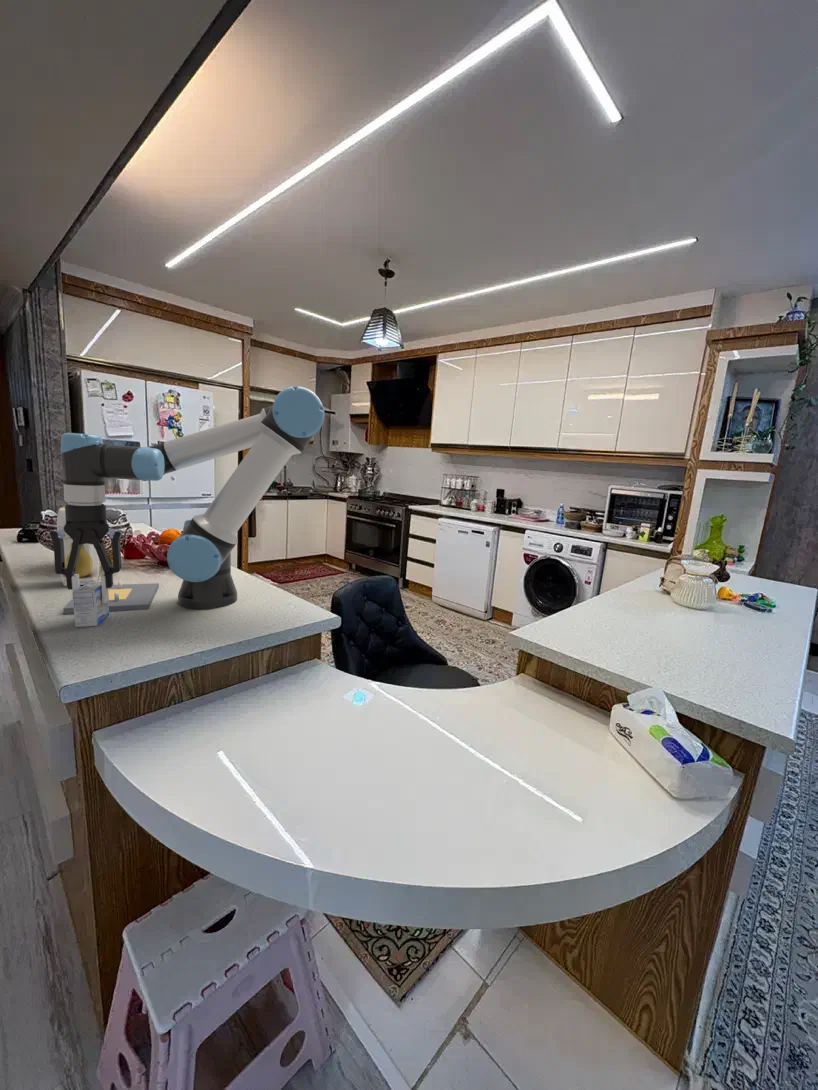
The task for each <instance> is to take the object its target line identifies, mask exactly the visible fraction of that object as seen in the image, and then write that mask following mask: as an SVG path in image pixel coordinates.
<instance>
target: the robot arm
mask: <svg viewBox="0 0 818 1090" xmlns="http://www.w3.org/2000/svg"><path fill="white" fill-rule="evenodd" d="M325 413H326V412H325V408H324V405H323V403H322V400H321V399H320V397H319V396H318V395H317V394H316V393H315V392H314V391H312V390H310V389H309V388H307V387H305V386H300V385H298V386H297V385H295V386H289V387H287V388H284V389H283V390H282V391H280V392H279V393H278V394H277V395H276V396H275V398H274V400H273V402H272V405H270V406H267V407H263V408H262V409H261V410H260V413H257V414H255V415H252V416H248V417H244V418H241V419H238V420H233V421H232V422H228V423H224V424H221V425H218V426H214V427H211V428H207V429H204V430H200V431H198V432H193V433H190V434H187V435H184V436H181V437H177V438H174V439H170V440H166V441H164V442H160V443H156V444H153V445H150V446H130V445H129V446H128V445H112V444H111V445H110V444H107V443H106V444H105V443H104V442H103V437H102V436H101V435H98V434H89V433H79V432H77V433H76V432H66V433H62V434H61V438H60V457H61V459H60V460H61V466H62V467H61V469H62V478H63V479H62V480H63V481H62V482H63V500H64V502H65V503H66V504H65V505H64V506H65V517H66V524H65V526H64V528H62V529H59V530H57V528H56V529H54V530H52V531H50V532H49V536H50V538H51V540H52V541H53V542H52V543H53V554H54V555H53V557H54V572H55V574H56V575H60V574H63V575H65V576H66V581H67V586H66V588H67V590H72V592H73V591H75V590H77V589H78V588H80V587H81V586H80V581H79V574H74V573H75V572H76V571H75V570H76V566H77V562H78V558H79V554H80V550H81V546H82V544H93V545H94V548H95V549H96V552H97V554H98V557H99V560H100V562H101V569H102V571H103V574H101V575H100V582H101V586H102V603H106V602H107V601H108V600H109V593H108V588H111V587H112V586H113V585H114V575H113V574H115V573H119V572H120V571H121V570H122V566H123V565H122V552H121V550H122V549H121V538H122V536H123V530H121V529H115V528H111V527H110V526H109V524H108V522H107V521H108V520H107V506H106V504H104V503H105V502H106V484H105V479H117V480H134V481H142V482H146V481H147V482H149V481H153V482H154V481H160V480H162V478H163V476H165V475H166V474H169V473H173V472H176V471H178V470H181V469H185V468H188V467H192V466H194V465H195V466H196V465H197V464H201V463H205V462H208V461H211V460H214V459H217V458H220V457H225V456H228V455H231V454H234V453H238V452H240V451H244V450H247V449H249V450H248V451H247V453H246V454H245V455H244V458H242V460H241V461H240V462H239V464H238V466H237V467H236V468H235V470H234V471H233V473H232V474H231V476H230V477H229V478H228V480H227V481H225V483H224V485H223V486H222V488H221V490H219V492H218V494H216V497H215V498H213V500H212V502H211V503H210V505H209V506H208V507H207V509H206V510H205V512H204V513H201V514H197V515H193V517H192V518H191V519H186V520H185V521H184V524H183V528H182V529H183V531H182V532H181V533H180V535H179V536H178V537H176V538H175V539H174V540H173V541H172V542H171V544H170V545H169V548H168V549H167V553H166V560H167V561H166V562H167V564H168V567H169V569H170V570H171V572H172V573H173V575H175V576H177V577H178V578H180V579H181V580H182V582H181V586H180V588H179V591H178V593H177V601H178V602H177V604H178V605H179V606H181V607H183V608H187V609H190V610H191V609H192V610H212V609H214V610H215V609H220V608H225V607H228V606H230V605H233V604H235V603H236V602H237V600H238V590H237V588H236V585H235V583H234V579H233V576H232V571H231V570H232V569H231V567H232V562H231V560H232V558H231V557H232V550H233V549H234V548H235V546H236V545H237V544H238V542H239V541H238V538H237V533H238V531H239V530H240V529H241V527H242V525H244V523H245V521H246V520H247V519H248V517H249V516H250V515H251V513H252V512H253V510H254V509H255V508H256V506H257V504H258V503H259V502H260V500H261V499H262V498H263V496H265V493H266V492H267V491H268V490H269V488H270V487H271V485H272V484H273V482H274V481H275V480H276V478H277V476H278V475H279V474H280V473H281V471H282V470H283V468H284V467H285V465H286V464H287V463H288V461H289V460H290V459H291V457H292V456H294V455H300V454H302V453H303V451H304V450H305V449H306V447H307V446H308V444H309V443H310V442H311V440H312V439H313V438H314V436H315V435H316V433H318V432H319V431H320V430H321V428H322V426H323V425H324V421H325V417H326V416H325V415H326V414H325ZM65 532H66V533H67V534H68V535H69V537H70V538H71V539H72V540H73V543H72V549H71V553H70V557H69V561H68V565H67V568H65V556H64V541H63V538H64V537H65ZM107 534H109V538H110V539H111V551H112V564H113V565H112V564H111V561H110V559H109V556H108V553H107V551H106V548H105V547H106V546H105V542H104V538H105V537H106V535H107Z"/></svg>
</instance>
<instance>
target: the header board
mask: <svg viewBox="0 0 818 1090" xmlns="http://www.w3.org/2000/svg"><path fill="white" fill-rule="evenodd" d="M159 585H160V584H159V582H156V583H128V584H127V583H126V584H124V583H123V581H117V584H113V586H112V587H111V588H108V593H109V600H108V604H109V613H110V612H121V611H122V612H123V611H135V610H136V611H139V610H148V609H149V610H150V607H151V605H152V603H153V601H154V599H155V596H156V594H157V592H158V590H159ZM63 615H74V606H73V598H72V599H71V600H70V602H68V603H67V604H66V605H65V606H64V607H63Z"/></svg>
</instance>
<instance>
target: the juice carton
mask: <svg viewBox="0 0 818 1090" xmlns="http://www.w3.org/2000/svg"><path fill="white" fill-rule="evenodd" d="M65 524H66V517H65V505H64V506H61V507H60V508H58V510H57V515H56V529H57V530H59V529H62V528H64V526H65ZM63 541H64V556H65V568H67V565H68V561H69V557H70V553H71V549H72V543H73V540H72V539H71V538H70V537H69V535H68V534H67V533H66V532H65V537H64V538H63ZM101 569H102V565H101V562H100V560H99V557H98V554H97V552H96V549H95V548H94V545H93V544H82V546H81V550H80V554H79V558H78V562H77V566H76V570H75V571H76V572H75V573H74V574H79V581H80V585H84V584H86V583H88V582H99V578H100V576H101V575H100V574H101V571H102V570H101ZM59 575H60V578H61V581H62V584H63V586H64V587H67V581H66V576H65V575H63V574H59Z"/></svg>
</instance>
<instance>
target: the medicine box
mask: <svg viewBox="0 0 818 1090" xmlns="http://www.w3.org/2000/svg"><path fill="white" fill-rule="evenodd" d="M72 599H73V606H74V614H73V616H74V624H75V627H76V628H87V627H98V626H99V625H100V624H101V623H102V622H103V621H104V620H105V619H106V618H107V617H108V616H109V615H110V612H109V604H108V601H107V602H106V603H102V586H101V581H97V582H88V583H86V584H84V585H83V586H80V588H78V589H77V590H75V591H72Z"/></svg>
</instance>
